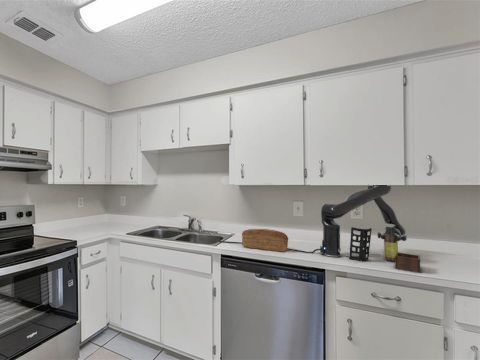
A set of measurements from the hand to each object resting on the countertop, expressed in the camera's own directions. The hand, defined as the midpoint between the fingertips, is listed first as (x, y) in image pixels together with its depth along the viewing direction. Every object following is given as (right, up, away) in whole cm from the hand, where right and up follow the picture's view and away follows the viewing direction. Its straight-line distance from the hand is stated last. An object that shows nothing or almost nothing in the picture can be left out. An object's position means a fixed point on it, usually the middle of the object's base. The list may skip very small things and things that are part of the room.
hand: (390, 238), depth 157 cm
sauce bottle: (+2, -13, +2) cm, 13 cm away
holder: (-15, -14, +3) cm, 21 cm away
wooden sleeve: (-1, -14, -13) cm, 19 cm away
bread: (-63, -14, +30) cm, 71 cm away
